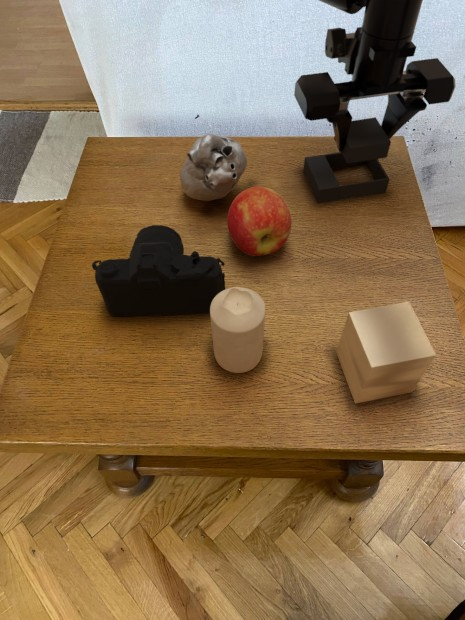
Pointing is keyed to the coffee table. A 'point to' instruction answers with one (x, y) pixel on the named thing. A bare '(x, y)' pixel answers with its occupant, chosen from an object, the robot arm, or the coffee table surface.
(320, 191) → the black tray
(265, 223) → the apple
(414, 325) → the beige wooden block
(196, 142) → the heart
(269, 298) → the coffee table surface
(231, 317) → the candle
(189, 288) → the film camera
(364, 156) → the black block
